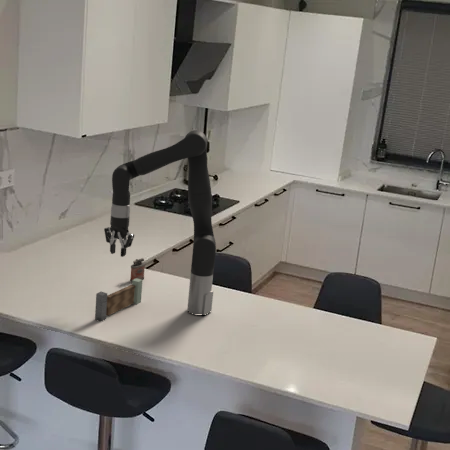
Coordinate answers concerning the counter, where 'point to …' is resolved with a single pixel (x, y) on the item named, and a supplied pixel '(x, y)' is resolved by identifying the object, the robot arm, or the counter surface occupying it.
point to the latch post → (137, 290)
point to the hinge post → (101, 306)
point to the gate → (120, 299)
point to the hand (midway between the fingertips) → (117, 254)
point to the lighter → (137, 269)
